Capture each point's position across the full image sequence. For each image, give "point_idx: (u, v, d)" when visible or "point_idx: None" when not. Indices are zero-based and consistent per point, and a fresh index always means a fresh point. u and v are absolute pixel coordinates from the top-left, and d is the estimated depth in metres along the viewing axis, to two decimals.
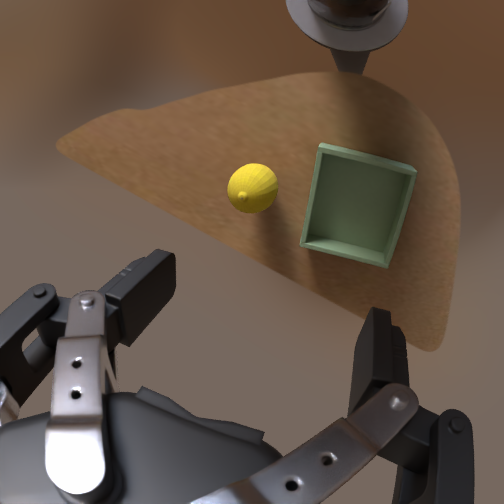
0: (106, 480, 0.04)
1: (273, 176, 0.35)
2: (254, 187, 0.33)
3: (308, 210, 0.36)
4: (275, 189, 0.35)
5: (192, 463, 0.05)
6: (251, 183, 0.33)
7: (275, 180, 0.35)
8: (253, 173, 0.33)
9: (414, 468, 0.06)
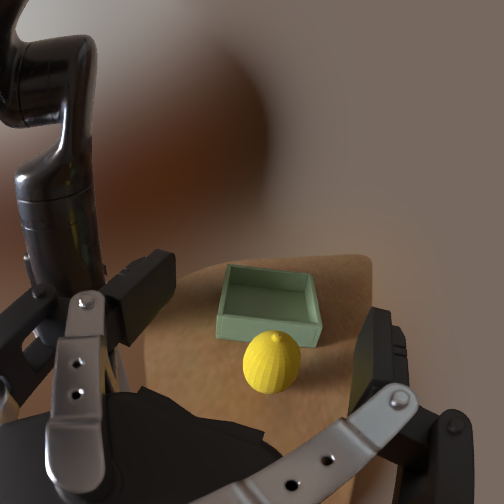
0: (106, 480, 0.04)
1: None
2: (264, 333, 0.29)
3: (282, 322, 0.35)
4: None
5: (192, 463, 0.05)
6: (261, 336, 0.28)
7: None
8: (250, 344, 0.29)
9: (414, 468, 0.06)
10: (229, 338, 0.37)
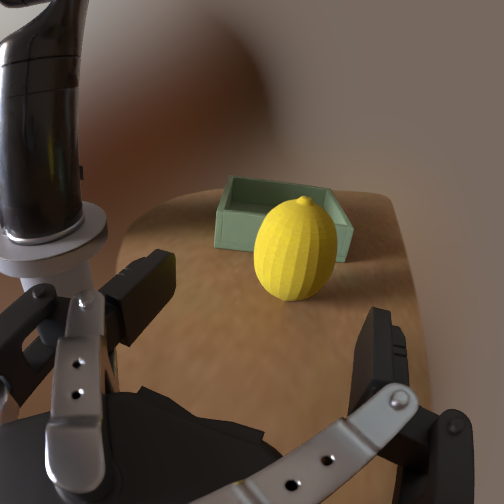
0: (106, 480, 0.04)
1: None
2: None
3: None
4: None
5: (192, 463, 0.05)
6: (280, 204, 0.20)
7: None
8: (265, 218, 0.20)
9: (414, 468, 0.06)
10: (232, 246, 0.28)
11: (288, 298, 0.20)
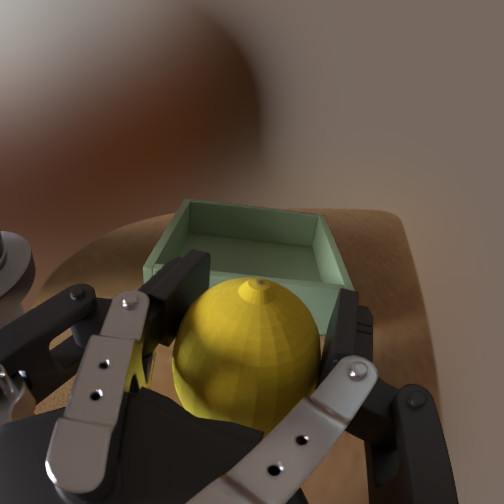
0: (103, 486, 0.04)
1: None
2: (223, 282, 0.11)
3: (274, 281, 0.18)
4: None
5: (192, 463, 0.05)
6: (211, 289, 0.11)
7: None
8: None
9: (378, 443, 0.07)
10: None
11: None
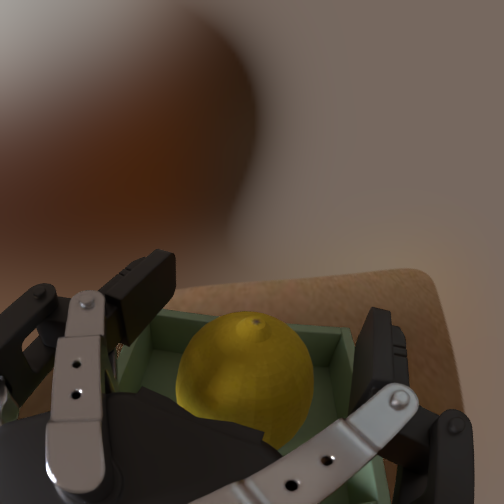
0: (106, 480, 0.04)
1: None
2: (222, 317, 0.11)
3: None
4: None
5: (192, 463, 0.05)
6: (211, 325, 0.11)
7: None
8: (187, 346, 0.11)
9: (414, 468, 0.06)
10: None
11: None
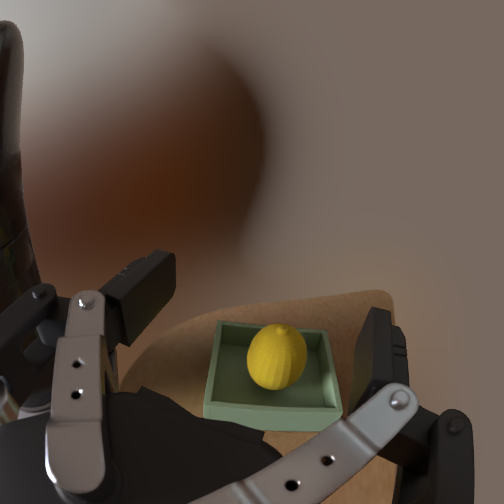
0: (106, 480, 0.04)
1: None
2: (269, 326, 0.28)
3: (291, 410, 0.24)
4: None
5: (192, 463, 0.05)
6: (265, 329, 0.28)
7: None
8: (254, 338, 0.28)
9: (414, 468, 0.06)
10: None
11: (271, 389, 0.28)
